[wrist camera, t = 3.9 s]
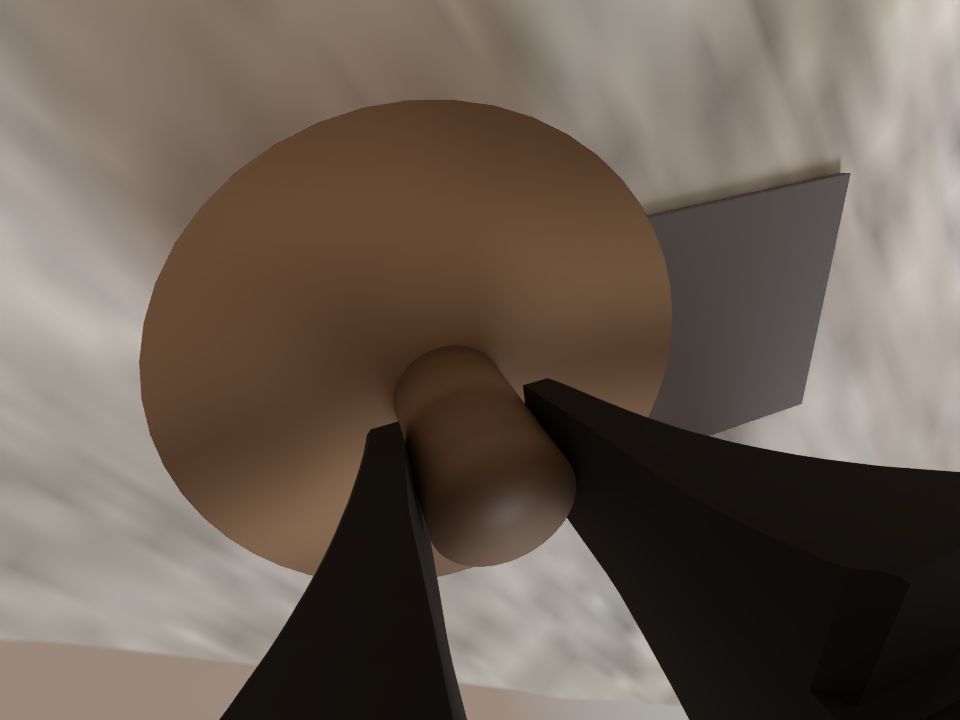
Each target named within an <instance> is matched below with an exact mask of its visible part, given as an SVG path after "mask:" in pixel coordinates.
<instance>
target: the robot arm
mask: <svg viewBox="0 0 960 720" xmlns="http://www.w3.org/2000/svg"><path fill="white" fill-rule="evenodd" d="M523 392H524V401H525V405H526V406H527V407H528V408H529V410H530V411H531V412H532V414H533V415H534V416H535V418H536V419H537V420H538V422H539V423H540V424H541V426H542V427H543V428H544V430H545V431H546V432H547V434H548V435H549V436H550V438H551V439H552V440H553V442H554V443H555V444H556V446H557V447H558V448H559V450H560V451H561V452H562V454H563V455H564V456H565V458H566V459H567V460H568V462H569V463H570V465H571V466H572V469H573V471H574V473H575V478H576V495H575V499H574V503H573V505H572V508H571V510H570V512H569V514H568V516H567V518H568V520H569V521H570V523H571V524H572V525H573V527H574V528H575V530H576V531H577V533H578V534H579V535H580V537H581V538H582V540H583V541H584V542H585V544H586V545H587V547H588V548H589V549H590V551H591V552H592V554H593V555H594V556H595V558H596V559H597V561H598V562H599V563H600V565H601V566H602V568H603V569H604V570H605V572H606V573H607V575H608V576H609V578H610V579H611V581H612V582H613V584H614V586H615V587H616V589H617V590H618V592H619V593H620V595H621V597H622V598H623V600H624V602H625V604H626V605H627V607H628V609H629V611H630V612H631V614H632V616H633V618H634V619H635V621H636V623H637V625H638V626H639V628H640V630H641V632H642V633H643V635H644V637H645V639H646V640H647V642H648V644H649V646H650V648H651V650H652V651H653V653H654V655H655V657H656V659H657V660H658V662H659V664H660V666H661V668H662V670H663V671H664V673H665V675H666V677H667V679H668V680H669V682H670V684H671V686H672V688H673V690H674V691H675V693H676V695H677V697H678V699H679V701H680V703H681V705H682V707H683V708H684V710H685V712H686V714H687V716H688V718H689V720H960V472H951V471H938V470H925V469H911V468H898V467H885V466H875V465H867V464H859V463H851V462H843V461H835V460H827V459H820V458H814V457H807V456H801V455H794V454H789V453H784V452H778V451H773V450H768V449H763V448H757V447H752V446H748V445H743V444H739V443H734V442H730V441H726V440H722V439H718V438H714V437H710V436H707V435H703V434H699V433H695V432H691V431H688V430H685V429H681V428H678V427H675V426H672V425H669V424H666V423H663V422H660V421H657V420H654V419H651V418H648V417H645V416H642V415H640V414H637V413H634V412H631V411H629V410H626V409H624V408H621V407H618V406H616V405H613V404H611V403H608V402H606V401H603V400H601V399H599V398H596V397H594V396H591V395H589V394H587V393H584V392H582V391H580V390H577V389H575V388H572V387H570V386H568V385H565V384H563V383H560V382H558V381H555V380H552V379H549V378H546V379H543V380H539V381H536V382H532V383H529V384H525V385H523ZM220 720H467V718H466V714H465V710H464V707H463V702H462V699H461V695H460V691H459V687H458V683H457V679H456V675H455V671H454V667H453V663H452V659H451V654H450V649H449V645H448V640H447V634H446V628H445V622H444V616H443V610H442V604H441V598H440V592H439V586H438V580H437V574H436V568H435V562H434V557H433V551H432V545H431V540H430V537H429V534H428V530H427V526H426V523H425V519H424V515H423V512H422V508H421V504H420V501H419V497H418V493H417V489H416V484H415V479H414V474H413V470H412V467H411V463H410V459H409V456H408V452H407V448H406V444H405V441H404V437H403V433H402V430H401V426H400V423H399V421H398V422H394V423H391V424H387V425H384V426H380V427H377V428H373V429H370V431H369V432H368V434H367V435H366V443H365V448H364V452H363V456H362V460H361V464H360V467H359V471H358V474H357V477H356V480H355V483H354V486H353V489H352V492H351V495H350V498H349V500H348V503H347V505H346V508H345V510H344V513H343V515H342V517H341V520H340V522H339V524H338V527H337V529H336V532H335V534H334V536H333V538H332V541H331V543H330V545H329V547H328V549H327V551H326V553H325V555H324V557H323V559H322V561H321V563H320V565H319V567H318V569H317V571H316V573H315V574H314V576H313V578H312V580H311V582H310V584H309V586H308V587H307V589H306V591H305V592H304V594H303V596H302V598H301V599H300V601H299V603H298V604H297V606H296V608H295V609H294V611H293V613H292V614H291V616H290V618H289V619H288V621H287V623H286V624H285V626H284V627H283V629H282V631H281V632H280V634H279V635H278V637H277V638H276V640H275V642H274V643H273V645H272V646H271V648H270V649H269V651H268V652H267V654H266V655H265V656H264V658H263V659H262V661H261V662H260V663H259V665H258V666H257V668H256V669H255V671H254V672H253V673H252V675H251V676H250V678H249V679H248V680H247V682H246V683H245V685H244V686H243V688H242V689H241V690H240V692H239V693H238V695H237V696H236V698H235V699H234V700H233V702H232V703H231V705H230V706H229V707H228V709H227V710H226V712H225V713H224V714H223V716H222V717H221V718H220Z"/></svg>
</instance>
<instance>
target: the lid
mask: <svg viewBox="0 0 960 720" xmlns="http://www.w3.org/2000/svg"><path fill="white" fill-rule="evenodd" d="M671 327H672V303H671V288H670V283H669V278H668V273H667V268H666V263H665V259H664V256H663V253H662V250H661V247H660V244H659V242H658V239H657V236H656V233H655V231H654V229H653V227H652V225H651V223H650V221H649V219H648V218H647V216H646V214H645V212H644V210H643V208H642V206H641V204H640V203H639V202H638V200H637V199H636V198H635V196H634V195H633V194H632V192H631V191H630V190H629V188H628V187H627V186H626V184H625V183H624V182H623V180H622V179H621V178H620V177H619V176H618V175H617V174H616V173H615V172H614V171H613V170H612V169H611V168H610V167H609V166H608V165H607V164H606V163H605V162H604V161H603V160H602V159H601V158H600V157H598V156H597V155H596V154H595V153H593V152H592V151H591V150H589V149H588V148H586V147H585V146H583V145H582V144H581V143H579V142H578V141H576V140H575V139H573V138H572V137H571V136H569V135H568V134H566V133H564V132H562V131H560V130H558V129H556V128H554V127H551V126H549V125H547V124H545V123H543V122H541V121H539V120H537V119H535V118H533V117H530V116H526V115H523V114H520V113H516V112H513V111H510V110H507V109H503V108H500V107H497V106H492V105H485V104H478V103H471V102H464V101H457V100H411V101H402V102H396V103H390V104H385V105H379V106H373V107H367V108H361V109H358V110H355V111H352V112H349V113H346V114H343V115H340V116H337V117H334V118H331V119H328V120H325V121H322V122H319V123H316V124H314V125H312V126H310V127H308V128H307V129H305V130H303V131H301V132H299V133H297V134H295V135H293V136H291V137H289V138H287V139H285V140H283V141H281V142H279V143H277V144H275V145H273V146H272V147H271V148H269V149H268V150H267V151H265V152H264V153H262V154H261V155H260V156H258V157H257V158H255V159H254V160H253V161H251V162H250V163H248V164H247V165H246V166H244V167H243V168H242V169H240V170H239V171H237V172H236V173H235V174H234V175H233V176H232V177H231V178H230V179H229V180H228V181H227V182H226V183H225V184H224V185H223V186H222V187H221V188H220V189H219V190H218V191H217V192H216V193H215V194H214V195H213V196H212V197H211V198H210V199H209V200H208V201H207V202H206V203H205V204H204V205H203V206H202V207H201V208H200V210H199V211H198V212H197V214H196V215H195V216H194V218H193V219H192V221H191V222H190V223H189V225H188V226H187V228H186V229H185V230H184V232H183V233H182V234H181V236H180V237H179V239H178V240H177V241H176V243H175V244H174V247H173V249H172V251H171V253H170V255H169V257H168V259H167V261H166V263H165V265H164V267H163V269H162V271H161V273H160V275H159V277H158V279H157V281H156V283H155V286H154V290H153V293H152V297H151V300H150V303H149V307H148V310H147V313H146V317H145V320H144V325H143V334H142V343H141V352H140V360H139V365H140V381H141V396H142V403H143V407H144V411H145V415H146V419H147V423H148V427H149V431H150V435H151V437H152V440H153V442H154V444H155V447H156V449H157V451H158V453H159V456H160V458H161V460H162V463H163V465H164V467H165V468H166V470H167V471H168V473H169V474H170V476H171V478H172V479H173V481H174V482H175V484H176V485H177V487H178V488H179V490H180V491H181V493H182V494H183V495H184V496H185V498H186V499H187V500H188V501H189V502H190V503H191V504H192V505H193V506H194V508H195V509H196V510H197V511H198V512H199V513H200V514H201V515H202V516H203V518H205V519H206V520H207V521H208V522H210V523H211V524H212V525H213V526H214V527H216V528H217V529H218V530H219V531H220V532H222V533H223V534H224V535H225V536H226V537H228V538H229V539H231V540H233V541H234V542H236V543H237V544H239V545H241V546H242V547H244V548H246V549H247V550H249V551H250V552H252V553H254V554H256V555H258V556H260V557H263V558H265V559H267V560H269V561H271V562H274V563H276V564H278V565H280V566H283V567H286V568H289V569H293V570H296V571H299V572H302V573H305V574H308V575H313V576H314V574H315V573H316V571H317V569H318V567H319V565H320V563H321V561H322V559H323V557H324V555H325V553H326V551H327V549H328V547H329V545H330V543H331V541H332V538H333V536H334V534H335V532H336V529H337V527H338V524H339V522H340V520H341V517H342V515H343V513H344V510H345V508H346V505H347V503H348V500H349V498H350V495H351V492H352V489H353V486H354V483H355V480H356V477H357V474H358V471H359V467H360V464H361V460H362V456H363V452H364V448H365V443H366V435H367V434H368V432H369V431H370V429H373V428H377V427H380V426H384V425H387V424H391V423H394V422H398V421H399V423H400V426H401V430H402V433H403V437H404V441H405V444H406V448H407V452H408V456H409V459H410V463H411V467H412V470H413V474H414V479H415V484H416V489H417V493H418V497H419V501H420V504H421V508H422V512H423V515H424V519H425V523H426V526H427V530H428V534H429V537H430V540H431V545H432V551H433V557H434V562H435V568H436V574H437V577H438V576H443V575H448V574H451V573H455V572H458V571H462V570H465V569H469V568H472V567H484V566H493V565H498V564H502V563H506V562H509V561H512V560H515V559H517V558H519V557H522V556H524V555H526V554H528V553H529V552H531V551H533V550H534V549H536V548H537V547H539V546H540V545H541V544H543V543H544V542H545V541H546V540H548V539H549V538H550V537H551V536H552V535H553V534H554V533H555V532H556V531H557V530H558V528H559V527H560V526H561V525H562V524H563V522H564V521H565V519H566V518H567V516H568V514H569V512H570V510H571V508H572V505H573V503H574V499H575V495H576V478H575V473H574V471H573V469H572V466H571V465H570V463H569V462H568V460H567V459H566V458H565V456H564V455H563V454H562V452H561V451H560V450H559V448H558V447H557V446H556V444H555V443H554V442H553V440H552V439H551V438H550V436H549V435H548V434H547V432H546V431H545V430H544V428H543V427H542V426H541V424H540V423H539V422H538V420H537V419H536V418H535V416H534V415H533V414H532V412H531V411H530V410H529V408H528V407H527V406H526V405H525V401H524V392H523V385H525V384H529V383H532V382H536V381H539V380H543V379H546V378H549V379H552V380H555V381H558V382H560V383H563V384H565V385H568V386H570V387H572V388H575V389H577V390H580V391H582V392H584V393H587V394H589V395H591V396H594V397H596V398H599V399H601V400H603V401H606V402H608V403H611V404H613V405H616V406H618V407H621V408H624V409H626V410H629V411H631V412H634V413H637V414H640V415H642V416H645V417H649V414H650V412H651V409H652V407H653V405H654V402H655V400H656V398H657V395H658V393H659V389H660V386H661V383H662V379H663V376H664V373H665V369H666V365H667V359H668V354H669V348H670V343H671Z"/></svg>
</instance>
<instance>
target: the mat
mask: <svg viewBox="0 0 960 720" xmlns="http://www.w3.org/2000/svg"><path fill="white" fill-rule="evenodd" d="M849 178H850V173H839V174H835V175H830V176H825V177H821V178H816V179H812V180H807V181H803V182H798V183H794V184H789V185H785V186H780V187H776V188H771V189H767V190H762V191H757V192H753V193H748V194H744V195H739V196H735V197H730V198H726V199H721V200H717V201H712V202H708V203H703V204H699V205H694V206H690V207H685V208H680V209H676V210H671V211H667V212H662V213H658V214H653V215H649V216H647V218H648V219H649V221H650V223H651V225H652V227H653V229H654V231H655V233H656V236H657V239H658V242H659V244H660V247H661V250H662V253H663V256H664V259H665V263H666V268H667V273H668V278H669V283H670V288H671V303H672V327H671V343H670V348H669V354H668V359H667V365H666V369H665V373H664V376H663V379H662V383H661V386H660V389H659V393H658V395H657V398H656V400H655V402H654V405H653V407H652V409H651V412H650V414H649V417H648V418H651V419H654V420H657V421H660V422H663V423H666V424H669V425H672V426H675V427H678V428H681V429H685V430H688V431H691V432H695V433H699V434H703V435H707V436H709V435H712V434H715V433H718V432H721V431H724V430H727V429H730V428H733V427H736V426H738V425H741V424H744V423H747V422H750V421H753V420H756V419H759V418H762V417H765V416H768V415H770V414H773V413H776V412H779V411H782V410H785V409H788V408H791V407H794V406H797V405H799V404H802V400H803V395H804V390H805V385H806V381H807V376H808V371H809V366H810V362H811V357H812V352H813V348H814V343H815V338H816V333H817V329H818V324H819V319H820V315H821V310H822V305H823V300H824V296H825V291H826V286H827V282H828V277H829V272H830V267H831V263H832V258H833V253H834V249H835V244H836V239H837V234H838V230H839V225H840V220H841V215H842V211H843V206H844V201H845V197H846V192H847V187H848V182H849Z"/></svg>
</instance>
